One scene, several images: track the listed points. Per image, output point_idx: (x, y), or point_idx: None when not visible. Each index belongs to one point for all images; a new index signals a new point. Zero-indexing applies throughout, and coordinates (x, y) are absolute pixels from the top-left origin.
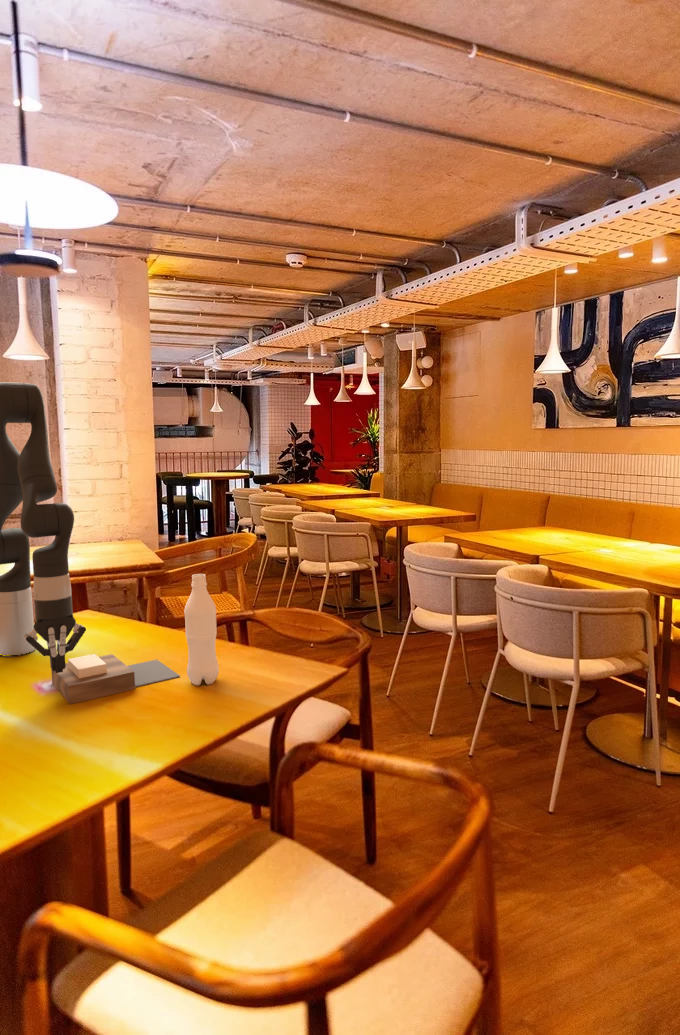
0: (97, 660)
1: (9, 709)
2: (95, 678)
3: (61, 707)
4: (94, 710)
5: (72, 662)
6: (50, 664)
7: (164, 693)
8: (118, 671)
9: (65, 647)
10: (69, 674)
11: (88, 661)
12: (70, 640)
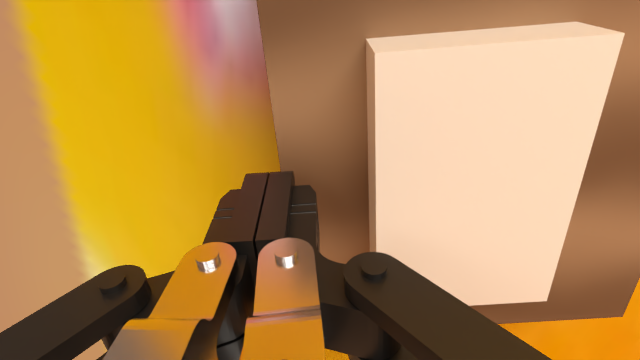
0: (541, 218)
1: (73, 203)
2: None
3: None
4: None
5: (382, 168)
6: (216, 217)
7: (614, 336)
8: (572, 278)
9: (332, 349)
10: (339, 191)
11: (484, 207)
12: (413, 338)
